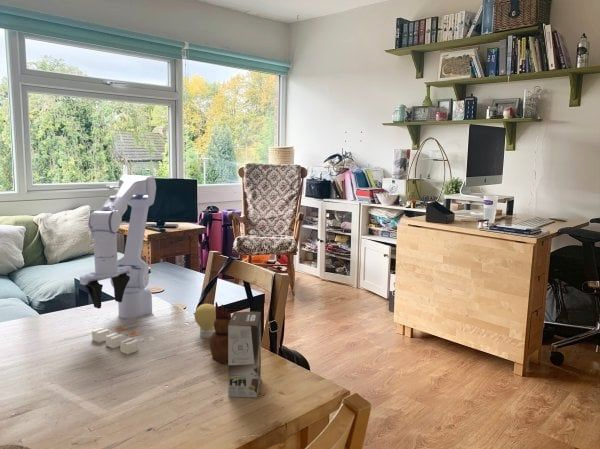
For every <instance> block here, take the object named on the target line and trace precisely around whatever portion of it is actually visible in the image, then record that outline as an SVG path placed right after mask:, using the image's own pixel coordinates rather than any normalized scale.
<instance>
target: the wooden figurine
mask: <svg viewBox="0 0 600 449" xmlns="http://www.w3.org/2000/svg"><path fill="white" fill-rule="evenodd" d="M214 304H215V307H216V319H215V321H214V326H213V328H214V332H213V334H212V335H211V337H210V338H209V339H210V340H209V348H210V353H211V356H212V358H213V360H214V361H215V362H216V363H219V364H228V324H229V322H230V320H231V317H232V313H231V311H229V312H228V309H227V308H225V310H224V304H221V307H220V308H219V305H218V301H216V302H215V303H214Z"/></svg>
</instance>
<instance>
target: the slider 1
mask: <svg viewBox="0 0 600 449" xmlns="http://www.w3.org/2000/svg"><path fill="white" fill-rule="evenodd" d="M91 333H92V334H91V338H92V339H91V340H92V341H93V342H96V343H98V344H99V343H103V342H106V336H107V335H110V330H109V329H108V328H106V327H100V328H97V329H93V330H91Z"/></svg>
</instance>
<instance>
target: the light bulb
mask: <svg viewBox="0 0 600 449" xmlns="http://www.w3.org/2000/svg"><path fill="white" fill-rule="evenodd" d="M215 319H216V305H214V304H211V303H203V304H200V305H199V306H197V308H196V309H195V311H194V320H195V322H196V324H197V325H198V326H199V337H200V338H203V339H210V338H211V335H212V334H213V332H215V329H214V321H215Z"/></svg>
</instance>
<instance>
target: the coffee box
mask: <svg viewBox="0 0 600 449" xmlns="http://www.w3.org/2000/svg"><path fill="white" fill-rule="evenodd" d="M261 348H262V312H261V311H234V312H232V314H231V320H230V322H229V324H228V363H227V370H228V372H227V375H228V376H227V380H228V381H227V384H228V385H227V386H228V387H227V395H228V397H236V398H237V397H238V398H255V399H256V398H257V397H258V392H259V387H260V383H261V379H262V373H261V372H262V356H261V355H262V351H261V350H262V349H261Z"/></svg>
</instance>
